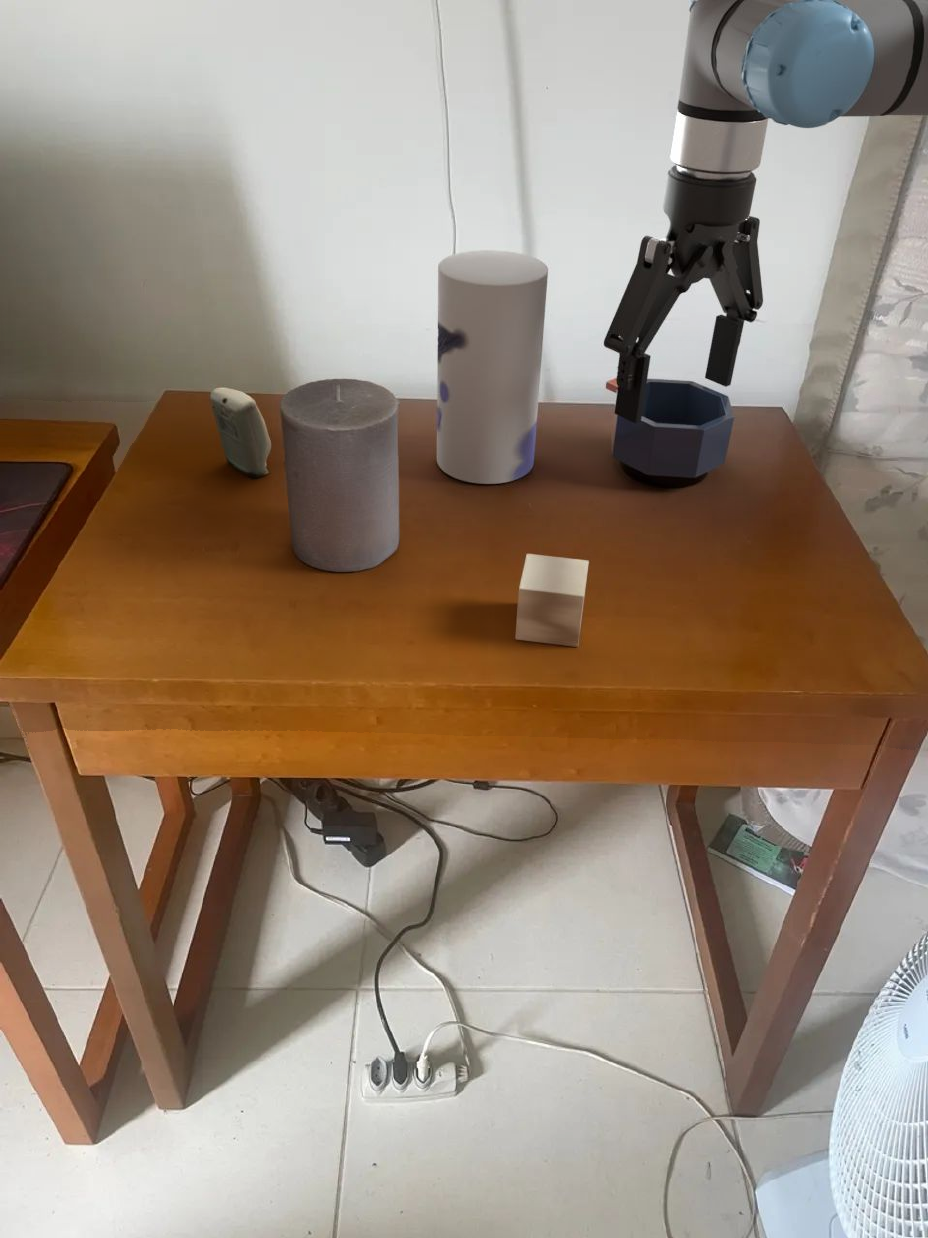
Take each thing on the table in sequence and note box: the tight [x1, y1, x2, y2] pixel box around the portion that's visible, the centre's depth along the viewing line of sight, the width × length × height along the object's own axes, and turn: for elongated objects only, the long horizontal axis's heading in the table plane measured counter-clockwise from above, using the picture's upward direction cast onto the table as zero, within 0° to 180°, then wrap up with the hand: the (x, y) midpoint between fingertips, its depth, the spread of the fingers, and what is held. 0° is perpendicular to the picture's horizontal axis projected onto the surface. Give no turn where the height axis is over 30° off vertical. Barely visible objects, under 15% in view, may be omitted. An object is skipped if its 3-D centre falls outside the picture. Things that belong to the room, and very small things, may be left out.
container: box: [436, 249, 549, 485], centre depth 95 cm, size 10×10×20 cm
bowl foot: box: [619, 461, 709, 489], centre depth 101 cm, size 9×9×2 cm
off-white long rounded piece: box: [209, 387, 272, 479], centre depth 97 cm, size 6×5×8 cm
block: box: [514, 553, 590, 648], centre depth 78 cm, size 5×5×5 cm
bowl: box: [605, 377, 735, 478], centre depth 99 cm, size 13×11×5 cm
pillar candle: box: [279, 378, 401, 573], centre depth 84 cm, size 10×10×15 cm
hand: (674, 399), depth 97 cm, fingers open, 13 cm apart
